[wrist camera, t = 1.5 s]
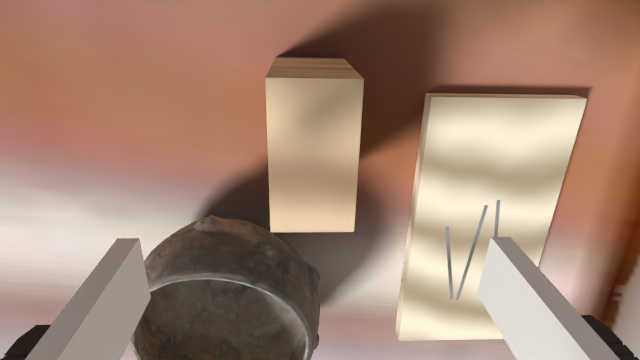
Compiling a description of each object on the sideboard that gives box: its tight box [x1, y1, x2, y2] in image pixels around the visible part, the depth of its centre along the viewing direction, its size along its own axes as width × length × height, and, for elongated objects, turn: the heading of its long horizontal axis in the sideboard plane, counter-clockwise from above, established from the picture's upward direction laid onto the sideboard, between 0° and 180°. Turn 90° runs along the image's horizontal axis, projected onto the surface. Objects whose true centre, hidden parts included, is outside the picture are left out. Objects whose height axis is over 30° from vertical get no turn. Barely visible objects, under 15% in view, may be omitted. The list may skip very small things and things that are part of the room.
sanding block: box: [265, 57, 364, 232], centre depth 26 cm, size 9×5×10 cm, turn 179°
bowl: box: [130, 215, 320, 360], centre depth 31 cm, size 14×15×10 cm
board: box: [395, 93, 587, 341], centre depth 35 cm, size 24×12×2 cm, turn 179°
